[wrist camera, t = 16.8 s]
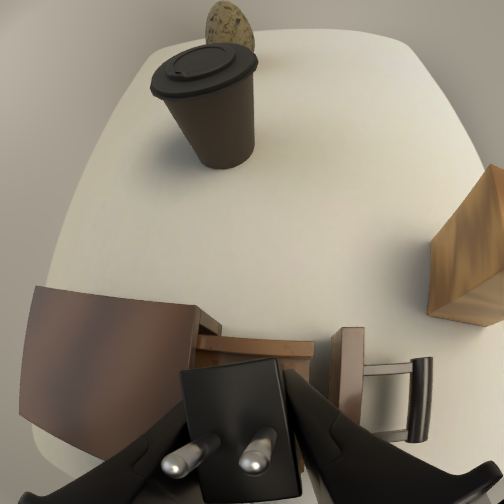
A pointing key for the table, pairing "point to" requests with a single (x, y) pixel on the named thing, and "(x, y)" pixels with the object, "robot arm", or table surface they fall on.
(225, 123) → the coffee cup
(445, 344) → the table surface
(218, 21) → the decorative egg
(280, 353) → the drawer
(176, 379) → the cabinet
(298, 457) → the black wall charger
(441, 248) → the pedestal
